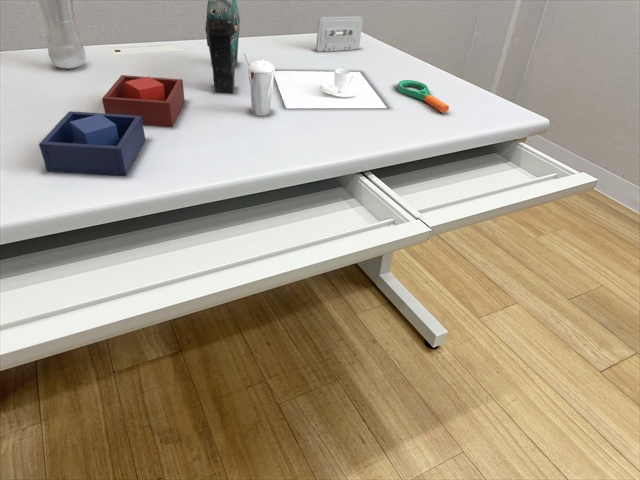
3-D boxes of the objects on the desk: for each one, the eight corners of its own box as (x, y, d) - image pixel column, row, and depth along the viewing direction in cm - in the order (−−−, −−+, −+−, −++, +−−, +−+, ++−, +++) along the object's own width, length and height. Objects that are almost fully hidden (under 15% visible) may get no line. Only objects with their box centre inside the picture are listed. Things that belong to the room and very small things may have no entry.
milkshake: (248, 105, 88) (248, 49, 82) (276, 109, 88) (278, 54, 81) (240, 114, 85) (239, 57, 78) (269, 119, 84) (270, 62, 78)
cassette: (318, 52, 116) (320, 18, 112) (314, 49, 118) (317, 16, 113) (360, 49, 121) (364, 17, 116) (356, 47, 122) (360, 15, 118)
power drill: (237, 97, 91) (235, -20, 78) (203, 95, 90) (195, -24, 77) (244, 62, 106) (242, -40, 94) (214, 60, 105) (209, -43, 93)
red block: (143, 116, 79) (139, 90, 77) (129, 107, 82) (124, 81, 79) (166, 109, 82) (163, 84, 79) (152, 101, 84) (148, 76, 82)
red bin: (106, 123, 78) (101, 98, 75) (125, 97, 86) (121, 74, 83) (172, 127, 79) (169, 102, 76) (184, 101, 87) (182, 79, 84)
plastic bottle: (45, 66, 95) (13, -50, 82) (76, 58, 99) (50, -52, 87) (64, 74, 92) (34, -44, 80) (95, 66, 97) (71, -47, 84)
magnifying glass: (392, 86, 102) (393, 78, 101) (415, 84, 104) (417, 76, 103) (431, 115, 92) (433, 106, 91) (456, 112, 94) (458, 104, 93)
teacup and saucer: (321, 99, 93) (323, 78, 91) (314, 84, 99) (315, 64, 97) (364, 99, 95) (367, 79, 93) (354, 84, 101) (356, 65, 99)
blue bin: (47, 171, 65) (38, 143, 62) (75, 136, 73) (69, 111, 71) (126, 175, 66) (121, 148, 63) (145, 140, 74) (141, 115, 71)
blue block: (91, 162, 67) (84, 133, 64) (76, 150, 69) (69, 121, 66) (121, 153, 69) (116, 124, 67) (106, 141, 72) (100, 113, 69)
